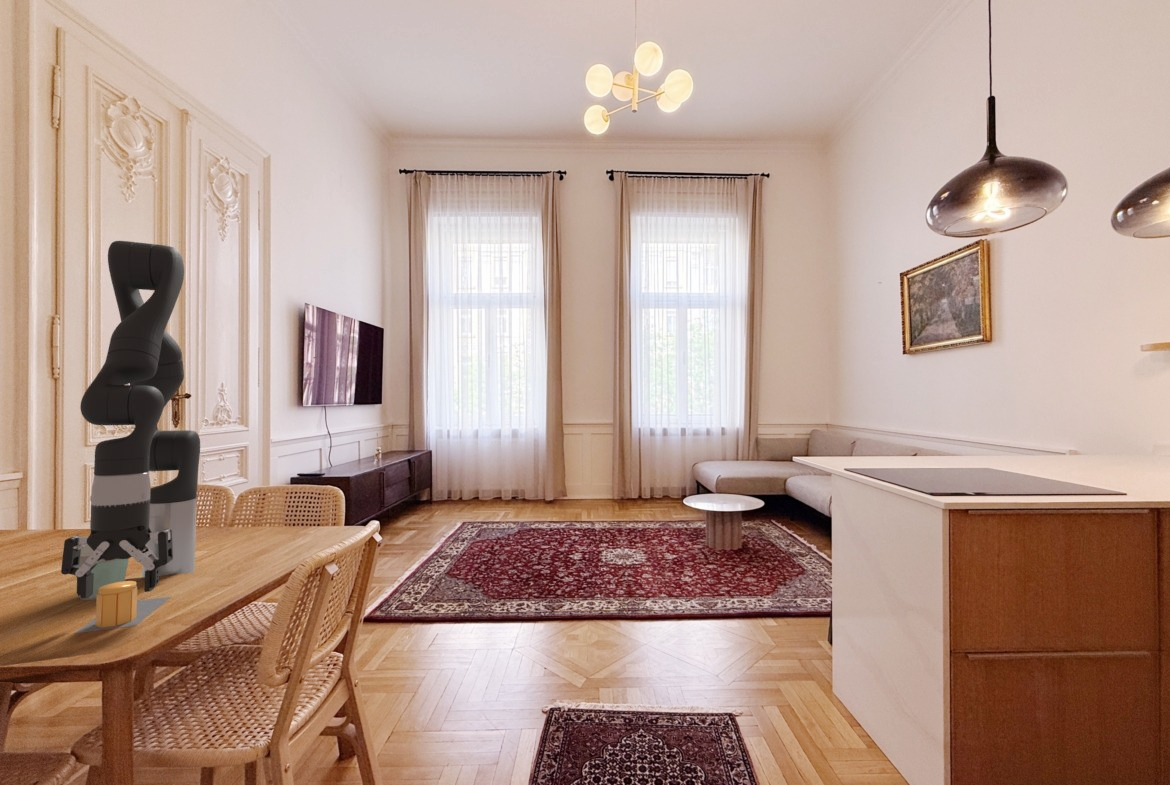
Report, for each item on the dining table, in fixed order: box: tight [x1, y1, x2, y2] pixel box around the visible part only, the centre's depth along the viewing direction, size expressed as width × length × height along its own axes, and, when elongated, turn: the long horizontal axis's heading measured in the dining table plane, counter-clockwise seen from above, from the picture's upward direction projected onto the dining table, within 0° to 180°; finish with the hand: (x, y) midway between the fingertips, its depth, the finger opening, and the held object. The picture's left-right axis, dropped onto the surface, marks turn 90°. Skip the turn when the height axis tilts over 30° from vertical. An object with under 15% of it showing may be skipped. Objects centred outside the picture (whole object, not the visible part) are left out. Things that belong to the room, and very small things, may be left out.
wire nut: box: [95, 580, 138, 627], centre depth 85 cm, size 5×5×6 cm
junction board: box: [74, 596, 171, 634], centre depth 88 cm, size 14×8×5 cm, turn 21°
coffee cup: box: [79, 543, 129, 601], centre depth 98 cm, size 9×8×12 cm
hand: (118, 593), depth 85 cm, fingers open, 8 cm apart
